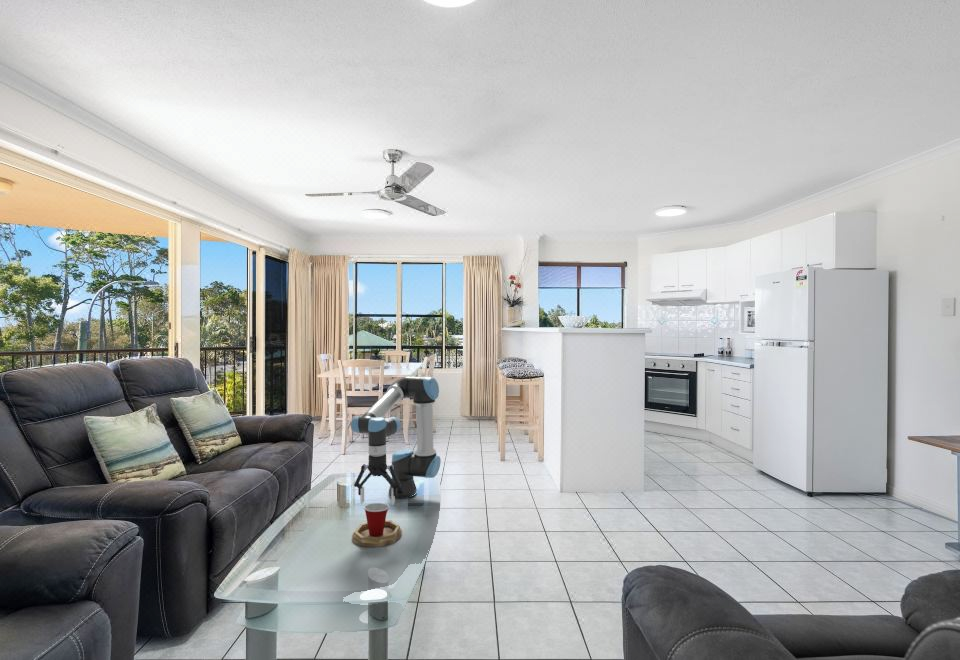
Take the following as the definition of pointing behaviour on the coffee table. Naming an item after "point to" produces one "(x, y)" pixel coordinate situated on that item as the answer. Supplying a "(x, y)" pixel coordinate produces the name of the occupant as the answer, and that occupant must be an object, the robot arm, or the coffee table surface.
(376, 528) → the plastic cup
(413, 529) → the coffee table surface
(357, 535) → the ring base
